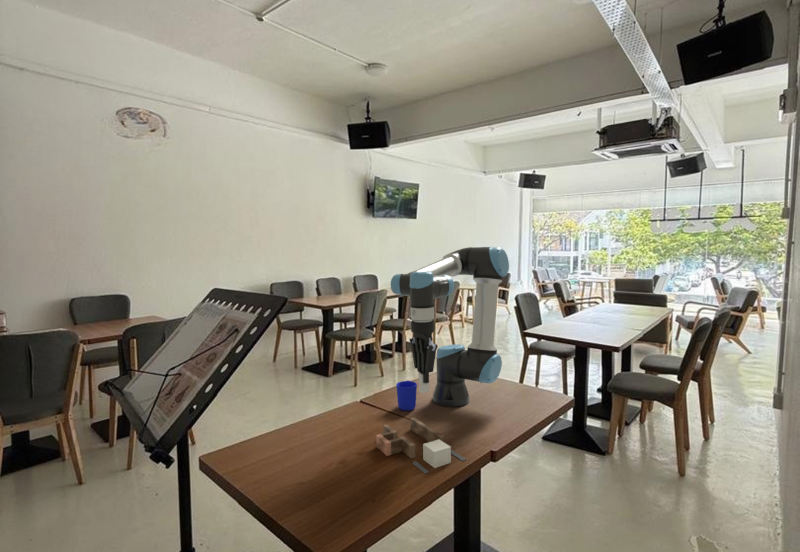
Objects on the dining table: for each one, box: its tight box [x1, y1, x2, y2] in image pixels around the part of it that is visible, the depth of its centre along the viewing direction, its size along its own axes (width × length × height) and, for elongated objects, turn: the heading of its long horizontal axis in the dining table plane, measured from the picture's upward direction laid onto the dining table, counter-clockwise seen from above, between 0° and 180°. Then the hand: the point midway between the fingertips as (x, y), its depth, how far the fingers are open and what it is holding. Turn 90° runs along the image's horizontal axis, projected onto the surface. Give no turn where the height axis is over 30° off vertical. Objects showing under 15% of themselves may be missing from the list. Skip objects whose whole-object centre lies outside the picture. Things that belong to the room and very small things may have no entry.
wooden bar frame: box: [375, 417, 445, 459], centre depth 142 cm, size 18×18×4 cm
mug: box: [395, 379, 418, 412], centre depth 174 cm, size 8×12×10 cm
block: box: [422, 439, 452, 469], centre depth 130 cm, size 6×6×5 cm
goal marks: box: [411, 449, 467, 474], centre depth 130 cm, size 7×15×1 cm, turn 120°
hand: (424, 391), depth 139 cm, fingers closed
